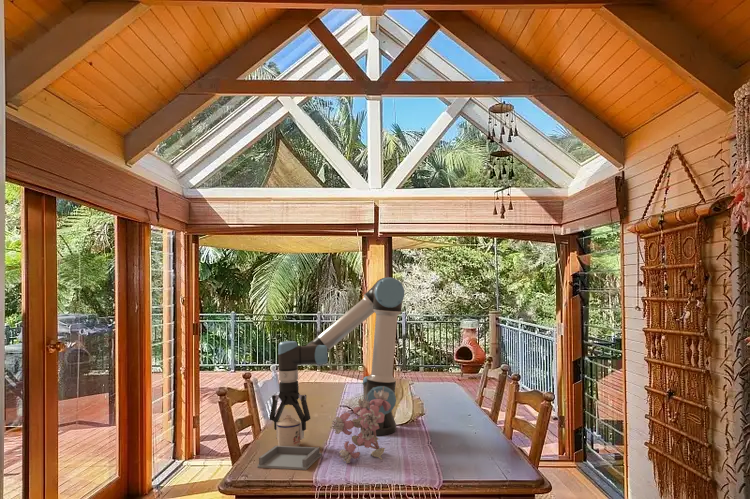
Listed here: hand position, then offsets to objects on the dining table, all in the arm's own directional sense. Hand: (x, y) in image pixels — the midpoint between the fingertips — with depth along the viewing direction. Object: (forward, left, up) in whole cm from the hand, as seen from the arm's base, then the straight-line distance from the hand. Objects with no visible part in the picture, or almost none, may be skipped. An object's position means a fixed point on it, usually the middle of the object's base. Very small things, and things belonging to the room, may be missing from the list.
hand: (290, 438), depth 222 cm
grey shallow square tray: (-8, +19, -2) cm, 21 cm away
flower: (-33, +14, -3) cm, 36 cm away
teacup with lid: (0, 0, -3) cm, 3 cm away
